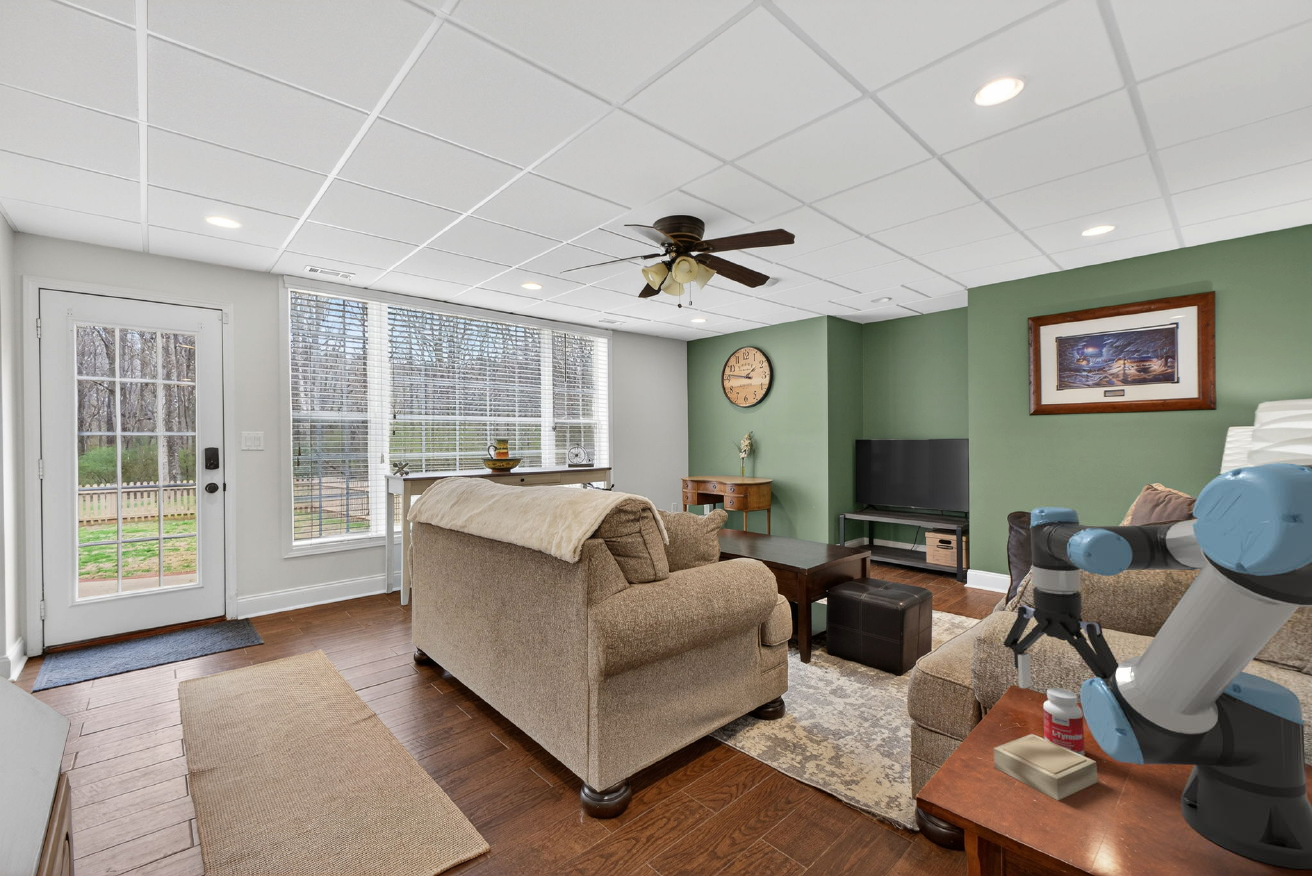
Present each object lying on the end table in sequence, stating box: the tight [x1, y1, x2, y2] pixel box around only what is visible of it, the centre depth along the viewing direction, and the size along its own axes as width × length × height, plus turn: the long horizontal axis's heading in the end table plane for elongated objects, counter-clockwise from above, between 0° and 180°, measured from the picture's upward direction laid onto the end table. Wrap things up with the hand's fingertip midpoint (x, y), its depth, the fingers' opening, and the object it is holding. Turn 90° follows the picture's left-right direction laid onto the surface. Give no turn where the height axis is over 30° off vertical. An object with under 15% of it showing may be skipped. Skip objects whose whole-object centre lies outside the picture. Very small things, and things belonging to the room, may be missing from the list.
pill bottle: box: [1042, 687, 1085, 757], centre depth 109 cm, size 6×6×11 cm
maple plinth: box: [993, 733, 1098, 801], centre depth 101 cm, size 11×11×4 cm
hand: (1060, 700), depth 109 cm, fingers open, 13 cm apart
